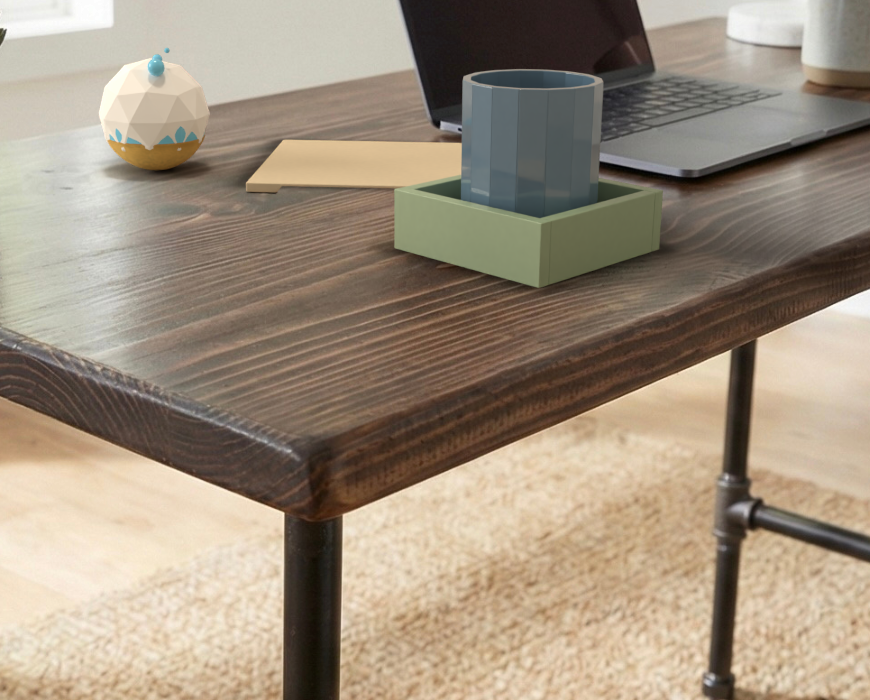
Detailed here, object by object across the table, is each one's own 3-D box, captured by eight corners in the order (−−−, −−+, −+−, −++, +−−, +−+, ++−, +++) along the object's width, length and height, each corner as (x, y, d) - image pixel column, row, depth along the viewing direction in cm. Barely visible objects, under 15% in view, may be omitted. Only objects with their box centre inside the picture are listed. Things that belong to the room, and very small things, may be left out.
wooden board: (479, 151, 92) (480, 143, 92) (474, 196, 79) (474, 187, 79) (283, 147, 93) (283, 139, 92) (246, 192, 79) (245, 182, 79)
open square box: (516, 223, 73) (518, 161, 72) (658, 257, 67) (663, 190, 65) (394, 256, 66) (393, 188, 65) (538, 296, 60) (541, 223, 59)
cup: (589, 240, 69) (598, 70, 66) (597, 277, 63) (607, 90, 60) (462, 238, 70) (465, 68, 67) (457, 274, 63) (460, 88, 60)
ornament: (84, 167, 86) (73, 43, 83) (180, 154, 90) (173, 36, 87) (133, 185, 81) (123, 55, 78) (232, 170, 85) (226, 46, 82)
